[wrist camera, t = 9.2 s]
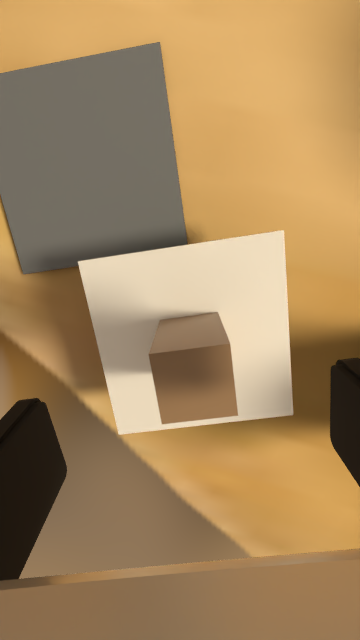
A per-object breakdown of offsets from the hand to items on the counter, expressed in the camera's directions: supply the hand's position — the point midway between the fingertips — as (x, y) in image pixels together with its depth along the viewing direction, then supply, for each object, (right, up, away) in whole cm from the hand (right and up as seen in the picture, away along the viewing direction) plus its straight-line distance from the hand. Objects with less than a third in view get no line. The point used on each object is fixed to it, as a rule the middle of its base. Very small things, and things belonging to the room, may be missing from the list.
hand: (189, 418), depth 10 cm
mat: (-7, +14, +12) cm, 20 cm away
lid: (0, +2, +10) cm, 10 cm away
